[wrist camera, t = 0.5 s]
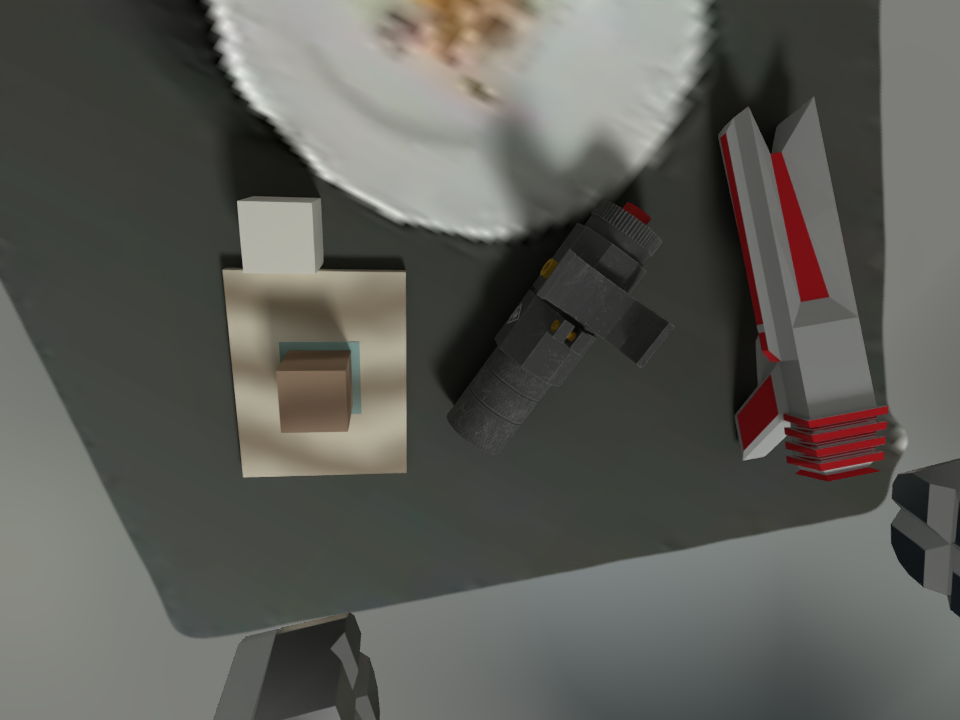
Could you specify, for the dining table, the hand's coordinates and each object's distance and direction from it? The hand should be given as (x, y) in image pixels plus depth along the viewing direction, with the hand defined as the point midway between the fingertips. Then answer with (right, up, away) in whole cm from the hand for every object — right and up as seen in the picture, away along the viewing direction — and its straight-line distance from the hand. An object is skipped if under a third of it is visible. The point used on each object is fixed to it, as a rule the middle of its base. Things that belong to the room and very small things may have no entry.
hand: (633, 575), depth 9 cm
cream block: (-17, +13, +39) cm, 44 cm away
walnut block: (-15, +2, +42) cm, 44 cm away
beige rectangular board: (-16, +2, +43) cm, 45 cm away
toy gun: (+21, +9, +45) cm, 51 cm away
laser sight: (+3, +7, +44) cm, 44 cm away
